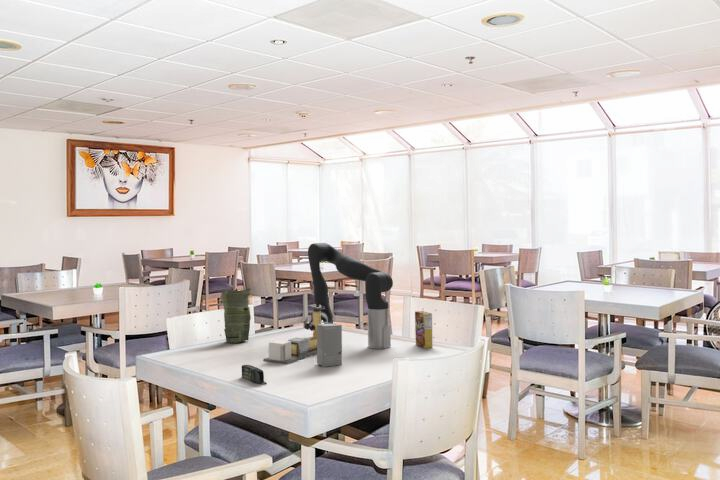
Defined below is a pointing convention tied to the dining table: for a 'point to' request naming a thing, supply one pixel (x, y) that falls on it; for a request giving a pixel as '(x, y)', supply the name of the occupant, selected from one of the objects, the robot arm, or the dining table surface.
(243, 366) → the mobile phone
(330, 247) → the robot arm
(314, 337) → the yellow angular piece
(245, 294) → the pouch
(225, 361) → the dining table surface
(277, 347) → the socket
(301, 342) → the grey base with blocks
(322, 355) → the skincare box
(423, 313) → the candy box
